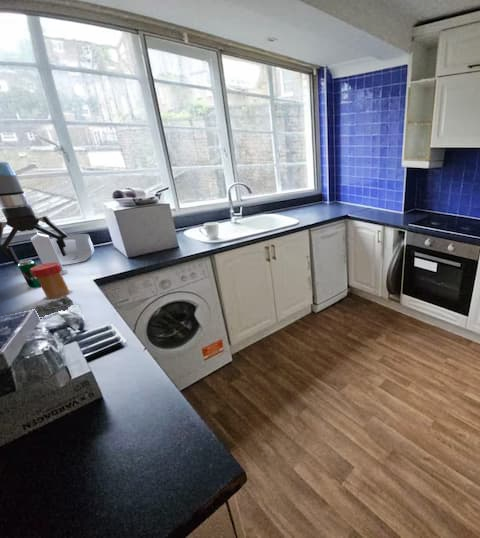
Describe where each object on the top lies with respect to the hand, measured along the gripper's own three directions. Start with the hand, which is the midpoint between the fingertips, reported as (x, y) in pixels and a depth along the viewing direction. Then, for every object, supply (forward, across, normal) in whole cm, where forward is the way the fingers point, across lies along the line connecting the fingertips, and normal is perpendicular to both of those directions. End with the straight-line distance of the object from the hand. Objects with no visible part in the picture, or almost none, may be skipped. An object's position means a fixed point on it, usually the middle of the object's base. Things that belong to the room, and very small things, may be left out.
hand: (41, 259), depth 118 cm
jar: (+16, 0, 0) cm, 16 cm away
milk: (+16, +4, -32) cm, 36 cm away
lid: (+4, 0, 0) cm, 4 cm away
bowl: (+16, -1, -55) cm, 57 cm away
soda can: (+16, +9, -19) cm, 27 cm away
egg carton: (+16, -1, +18) cm, 24 cm away
